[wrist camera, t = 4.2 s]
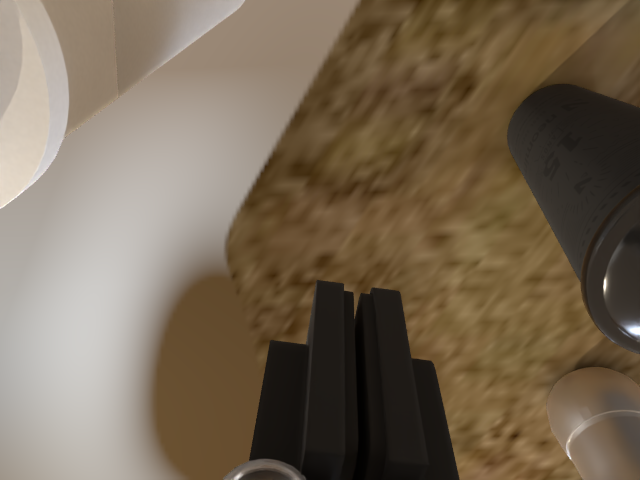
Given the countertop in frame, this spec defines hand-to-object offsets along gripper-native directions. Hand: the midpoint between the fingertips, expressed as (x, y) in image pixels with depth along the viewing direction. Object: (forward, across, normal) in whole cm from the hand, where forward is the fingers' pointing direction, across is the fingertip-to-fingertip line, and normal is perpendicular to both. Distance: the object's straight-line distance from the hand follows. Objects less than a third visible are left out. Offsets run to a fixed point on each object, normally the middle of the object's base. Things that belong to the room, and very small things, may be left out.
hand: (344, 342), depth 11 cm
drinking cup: (+20, -11, 0) cm, 23 cm away
